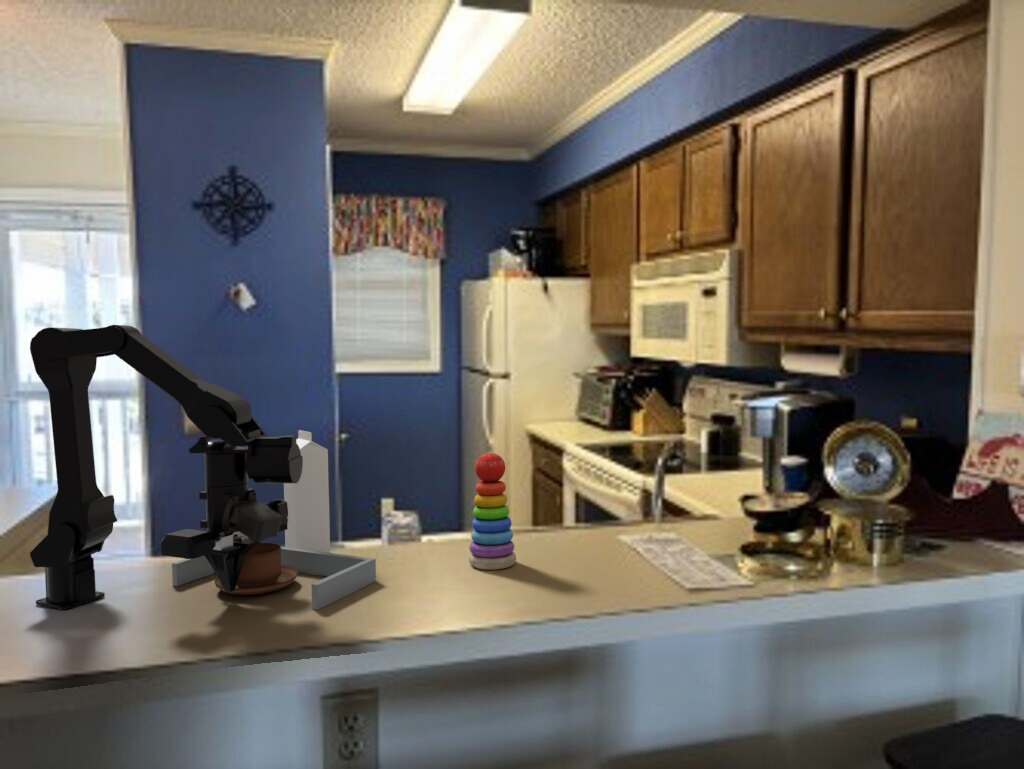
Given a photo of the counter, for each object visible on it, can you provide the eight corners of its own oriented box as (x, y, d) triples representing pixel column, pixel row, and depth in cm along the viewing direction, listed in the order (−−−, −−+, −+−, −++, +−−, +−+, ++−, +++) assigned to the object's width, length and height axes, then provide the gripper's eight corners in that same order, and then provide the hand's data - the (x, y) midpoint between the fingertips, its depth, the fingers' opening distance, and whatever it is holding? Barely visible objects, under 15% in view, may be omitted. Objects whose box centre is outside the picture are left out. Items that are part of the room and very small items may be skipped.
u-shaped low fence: (172, 585, 116) (172, 563, 116) (239, 561, 128) (239, 541, 128) (317, 609, 104) (317, 584, 104) (376, 580, 117) (375, 558, 117)
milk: (297, 561, 128) (293, 434, 127) (285, 554, 133) (281, 431, 132) (331, 555, 132) (327, 431, 131) (317, 548, 137) (314, 428, 136)
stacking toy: (525, 561, 126) (524, 451, 126) (499, 574, 120) (497, 457, 119) (486, 555, 131) (485, 448, 130) (459, 567, 124) (457, 454, 123)
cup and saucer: (260, 605, 106) (258, 563, 106) (196, 595, 111) (195, 554, 111) (313, 581, 118) (312, 542, 117) (254, 573, 122) (253, 535, 122)
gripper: (218, 499, 95) (221, 620, 96) (314, 476, 112) (317, 579, 113) (156, 493, 100) (160, 608, 101) (257, 472, 117) (260, 571, 118)
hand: (230, 591), depth 108 cm, fingers closed
